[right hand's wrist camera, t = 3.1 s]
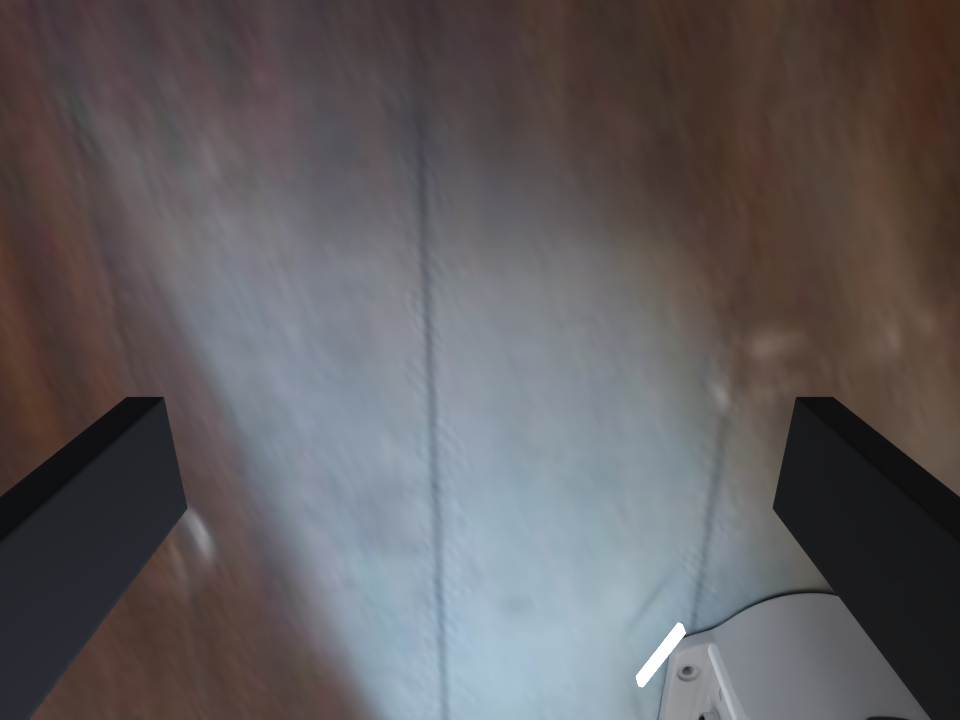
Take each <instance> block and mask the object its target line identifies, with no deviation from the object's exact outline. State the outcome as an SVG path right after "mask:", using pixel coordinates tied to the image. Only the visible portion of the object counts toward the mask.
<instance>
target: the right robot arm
mask: <svg viewBox="0 0 960 720" xmlns="http://www.w3.org/2000/svg"><path fill="white" fill-rule="evenodd" d="M186 510H187V504H186V499H185V495H184V490H183V485H182V481H181V476H180V471H179V466H178V462H177V457H176V452H175V448H174V443H173V438H172V433H171V429H170V424H169V419H168V415H167V410H166V405H165V401H164V397H126V398H125V399H124V400H122V401H121V402H120V403H119V404H117V405H116V406H115V407H114V408H112V409H111V410H110V411H109V412H107V413H106V414H105V415H104V416H102V417H101V418H100V419H98V420H97V421H96V422H95V423H93V424H92V425H91V426H90V427H88V428H87V429H86V430H85V431H83V432H82V433H81V434H79V435H78V436H77V437H76V438H74V439H73V440H72V441H71V442H69V443H68V444H67V445H66V446H64V447H63V448H62V449H60V450H59V451H58V452H57V453H55V454H54V455H53V456H52V457H50V458H49V459H48V460H47V461H45V462H44V463H43V464H42V465H40V466H39V467H38V468H36V469H35V470H34V471H33V472H31V473H30V474H29V475H28V476H26V477H25V478H24V479H23V480H21V481H20V482H19V483H17V484H16V485H15V486H14V487H12V488H11V489H10V490H9V491H7V492H6V493H5V494H4V495H2V496H1V497H0V720H29V719H30V718H31V717H32V715H33V714H34V713H35V711H36V710H37V709H38V707H39V706H40V705H41V703H42V702H43V701H44V699H45V698H46V697H47V695H48V694H49V693H50V691H51V690H52V689H53V687H54V686H55V685H56V683H57V682H58V681H59V679H60V678H61V677H62V675H63V674H64V673H65V671H66V670H67V669H68V667H69V666H70V665H71V663H72V662H73V661H74V659H75V658H76V657H77V655H78V654H79V653H80V651H81V650H82V649H83V647H84V646H85V645H86V643H87V642H88V641H89V639H90V638H91V637H92V635H93V634H94V633H95V631H96V630H97V629H98V627H99V626H100V625H101V623H102V622H103V620H104V619H105V618H106V616H107V615H108V614H109V612H110V611H111V610H112V608H113V607H114V606H115V604H116V603H117V602H118V600H119V599H120V598H121V596H122V595H123V594H124V592H125V591H126V590H127V588H128V587H129V586H130V584H131V583H132V582H133V580H134V579H135V578H136V576H137V575H138V574H139V572H140V571H141V570H142V568H143V567H144V566H145V564H146V563H147V562H148V560H149V559H150V558H151V556H152V555H153V554H154V552H155V551H156V550H157V548H158V547H159V546H160V544H161V543H162V542H163V540H164V539H165V538H166V536H167V535H168V534H169V532H170V531H171V530H172V528H173V527H174V526H175V524H176V523H177V522H178V520H179V519H180V518H181V516H182V515H183V514H184V512H185V511H186ZM773 510H774V511H775V512H776V514H777V515H778V516H779V518H780V519H781V520H782V522H783V523H784V524H785V526H786V527H787V528H788V530H789V531H790V532H791V534H792V535H793V536H794V538H795V539H796V540H797V542H798V543H799V544H800V546H801V547H802V548H803V550H804V551H805V552H806V554H807V555H808V556H809V558H810V559H811V560H812V562H813V563H814V564H815V566H816V567H817V568H818V570H819V571H820V572H821V574H822V575H823V576H824V578H825V579H826V580H827V582H828V583H829V584H830V586H831V587H832V588H833V590H834V591H835V592H836V594H837V595H838V596H839V598H840V599H841V600H842V602H843V603H844V604H845V606H846V607H847V608H848V610H849V611H850V612H851V614H852V615H853V616H854V618H855V619H856V620H857V622H858V623H859V625H860V626H861V627H862V629H863V630H864V631H865V633H866V634H867V635H868V637H869V638H870V639H871V641H872V642H873V643H874V645H875V646H876V647H877V649H878V650H879V651H880V653H881V654H882V655H883V657H884V658H885V659H886V661H887V662H888V663H889V665H890V666H891V667H892V669H893V670H894V671H895V673H896V674H897V675H898V677H899V678H900V679H901V681H902V682H903V683H904V685H905V686H906V687H907V689H908V690H909V691H910V693H911V694H912V695H913V697H914V698H915V699H916V701H917V702H918V703H919V705H920V706H921V707H922V709H923V710H924V711H925V713H926V714H927V715H928V717H929V718H930V719H931V720H960V497H959V496H958V495H956V494H955V493H954V492H953V491H951V490H950V489H949V488H948V487H946V486H945V485H944V484H943V483H941V482H940V481H939V480H937V479H936V478H935V477H934V476H932V475H931V474H930V473H929V472H927V471H926V470H925V469H924V468H922V467H921V466H920V465H918V464H917V463H916V462H915V461H913V460H912V459H911V458H910V457H908V456H907V455H906V454H905V453H903V452H902V451H901V450H900V449H898V448H897V447H896V446H894V445H893V444H892V443H891V442H889V441H888V440H887V439H886V438H884V437H883V436H882V435H881V434H879V433H878V432H877V431H875V430H874V429H873V428H872V427H870V426H869V425H868V424H867V423H865V422H864V421H863V420H862V419H860V418H859V417H858V416H856V415H855V414H854V413H853V412H851V411H850V410H849V409H848V408H846V407H845V406H844V405H843V404H841V403H840V402H839V401H838V400H836V399H835V398H834V397H796V401H795V405H794V410H793V415H792V419H791V424H790V429H789V433H788V438H787V443H786V448H785V452H784V457H783V462H782V466H781V471H780V476H779V481H778V485H777V490H776V495H775V499H774V504H773Z"/></svg>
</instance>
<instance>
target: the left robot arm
mask: <svg viewBox="0 0 960 720" xmlns="http://www.w3.org/2000/svg"><path fill="white" fill-rule="evenodd" d="M684 635H685V630H684V628H683V625H682V624H680V623H678V624H677V625H676V626H675V628H674V629H673V630H672V631H671V633H670V634H669V635H668V637H667V638H666V639H665V640H664V642H663V643H662V644H661V645H660V647H659V648H658V649H657V651H656V652H655V653H654V654H653V656H652V657H651V658H650V659H649V661H648V662H647V663H646V665H645V666H644V667H643V668H642V670H641V671H640V672H639V674H638V675H637V676H636V678H637V682H638V685H639V686H641V687H643V686H644V685H645V684H646V682H647V681H648V680H649V679H650V677H651V676H652V675H653V673H654V672H655V671H656V670H657V668H658V667H659V666H660V665H661V663H662V662H663V661H664V660H665V658H666V657H667V656H668V655H669V659H668V665H667V671H666V677H665V683H664V689H663V695H662V701H661V707H660V713H659V718H658V720H931V719H930V718H929V717H928V715H927V714H926V713H925V711H924V710H923V709H922V707H921V706H920V705H919V703H918V702H917V701H916V699H915V698H914V697H913V695H912V694H911V693H910V691H909V690H908V689H907V687H906V686H905V685H904V683H903V682H902V681H901V679H900V678H899V677H898V675H897V674H896V673H895V671H894V670H893V669H892V667H891V666H890V665H889V663H888V662H887V661H886V659H885V658H884V657H883V655H882V654H881V653H880V651H879V650H878V649H877V647H876V646H875V645H874V643H873V642H872V641H871V639H870V638H869V637H868V635H867V634H866V633H865V631H864V630H863V629H862V627H861V626H860V625H859V623H858V622H857V620H856V619H855V618H854V616H853V615H852V614H851V612H850V611H849V610H848V608H847V607H846V606H845V604H844V603H843V602H842V600H841V599H840V598H839V596H836V595H830V594H821V593H802V594H793V595H787V596H781V597H777V598H773V599H770V600H767V601H764V602H761V603H759V604H756V605H754V606H752V607H749V608H747V609H746V610H744V611H742V612H740V613H738V614H737V615H735V616H734V617H732V618H731V619H729V620H727V621H726V622H724V623H723V624H721V625H719V626H718V627H716V628H714V629H712V630H708V631H704V632H701V633H697V634H693V635H690V636H687V637H685V638H682V637H683V636H684ZM681 638H682V639H681Z"/></svg>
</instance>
